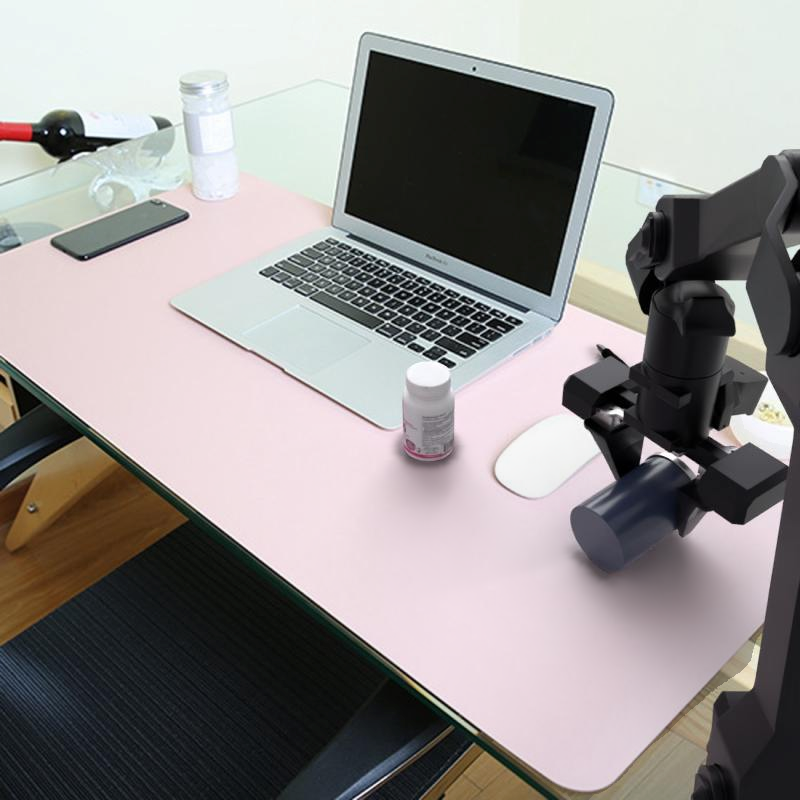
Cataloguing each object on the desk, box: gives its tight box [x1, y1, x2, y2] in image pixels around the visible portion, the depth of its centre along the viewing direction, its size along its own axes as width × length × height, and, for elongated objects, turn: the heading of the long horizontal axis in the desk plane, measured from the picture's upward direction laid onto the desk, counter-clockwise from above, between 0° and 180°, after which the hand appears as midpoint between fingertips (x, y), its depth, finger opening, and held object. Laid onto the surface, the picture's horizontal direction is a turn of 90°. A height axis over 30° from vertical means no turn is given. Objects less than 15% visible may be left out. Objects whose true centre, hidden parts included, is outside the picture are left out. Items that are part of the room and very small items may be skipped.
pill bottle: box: [401, 360, 456, 462], centre depth 87 cm, size 5×5×8 cm
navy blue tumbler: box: [569, 451, 697, 574], centre depth 77 cm, size 6×6×9 cm
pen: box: [595, 343, 631, 368], centre depth 97 cm, size 14×2×1 cm, turn 23°
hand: (655, 512), depth 79 cm, fingers closed on navy blue tumbler, 6 cm apart
